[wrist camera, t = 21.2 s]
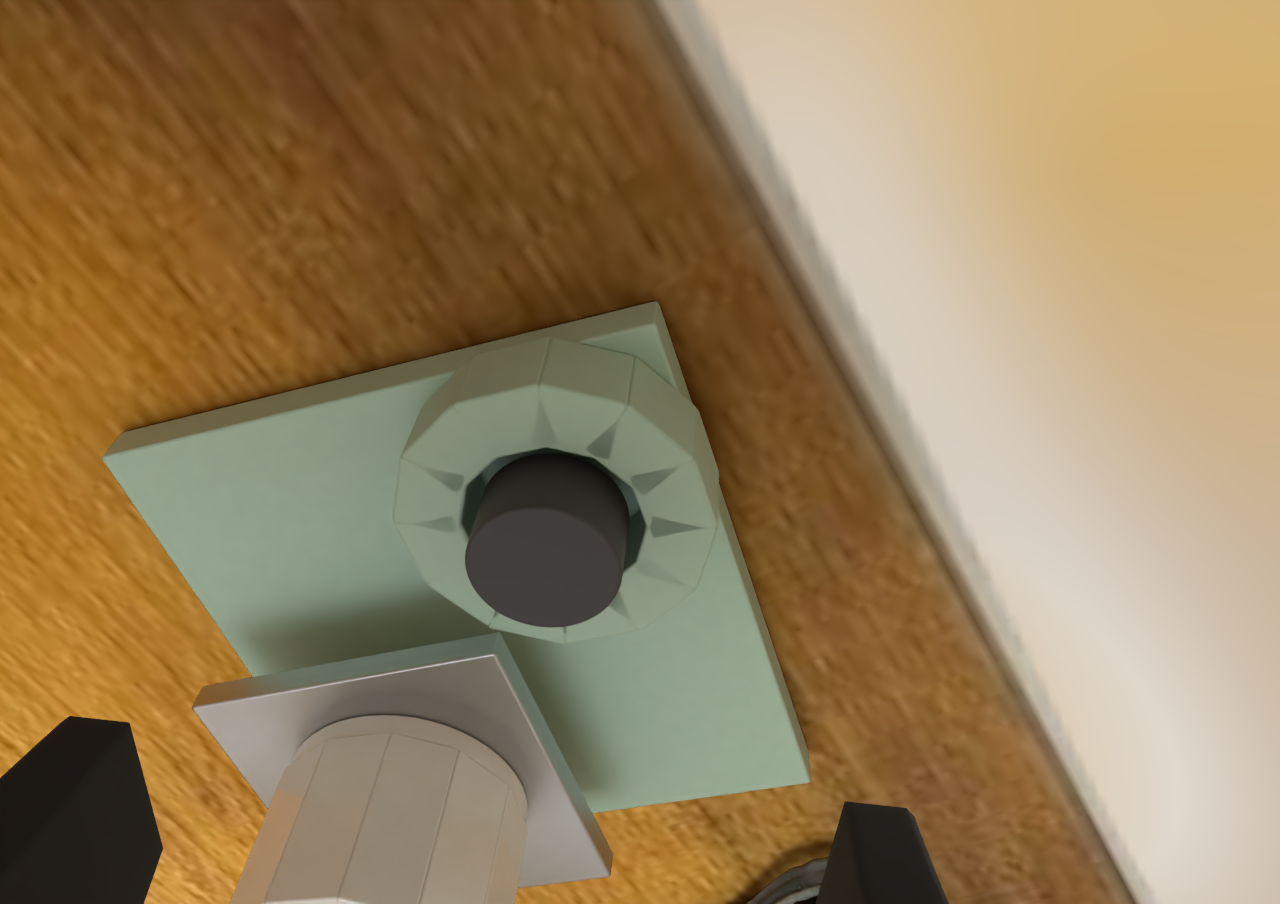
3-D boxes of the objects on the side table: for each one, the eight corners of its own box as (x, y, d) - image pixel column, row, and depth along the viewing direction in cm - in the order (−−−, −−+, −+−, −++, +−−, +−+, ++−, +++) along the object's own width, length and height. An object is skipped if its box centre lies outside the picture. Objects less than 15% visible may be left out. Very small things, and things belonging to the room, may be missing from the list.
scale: (113, 421, 22) (49, 499, 20) (667, 282, 19) (659, 355, 17) (378, 815, 28) (350, 904, 26) (819, 750, 26) (827, 843, 24)
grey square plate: (202, 685, 22) (190, 708, 22) (500, 631, 21) (494, 653, 20) (350, 887, 26) (343, 911, 25) (613, 853, 25) (611, 877, 24)
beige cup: (276, 837, 24) (203, 1021, 21) (305, 686, 21) (226, 872, 18) (498, 891, 25) (461, 1079, 21) (554, 751, 22) (522, 942, 19)
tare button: (458, 469, 19) (439, 525, 18) (602, 437, 19) (592, 493, 17) (513, 580, 21) (498, 640, 19) (648, 554, 20) (642, 614, 19)
